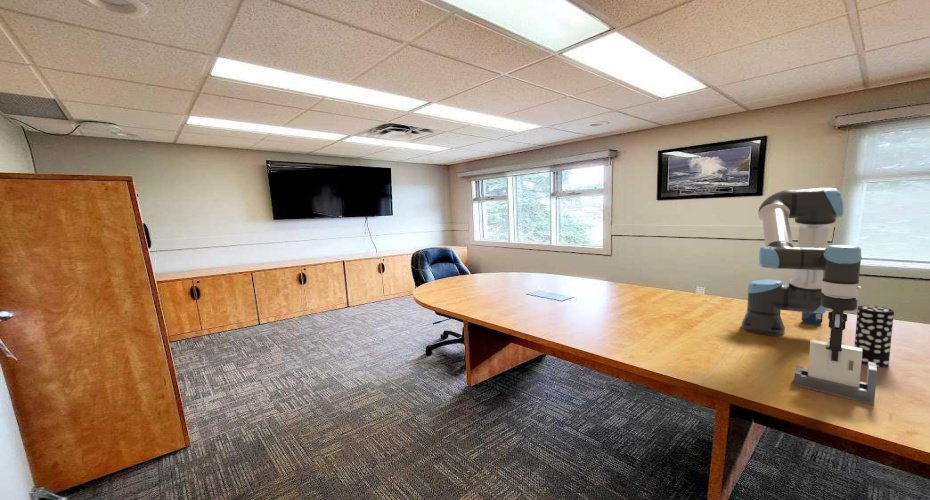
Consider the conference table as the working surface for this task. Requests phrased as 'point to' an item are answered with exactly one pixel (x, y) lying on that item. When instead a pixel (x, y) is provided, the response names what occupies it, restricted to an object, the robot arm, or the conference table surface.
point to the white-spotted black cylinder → (874, 334)
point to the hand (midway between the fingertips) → (833, 367)
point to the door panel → (848, 366)
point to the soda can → (812, 318)
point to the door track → (840, 385)
